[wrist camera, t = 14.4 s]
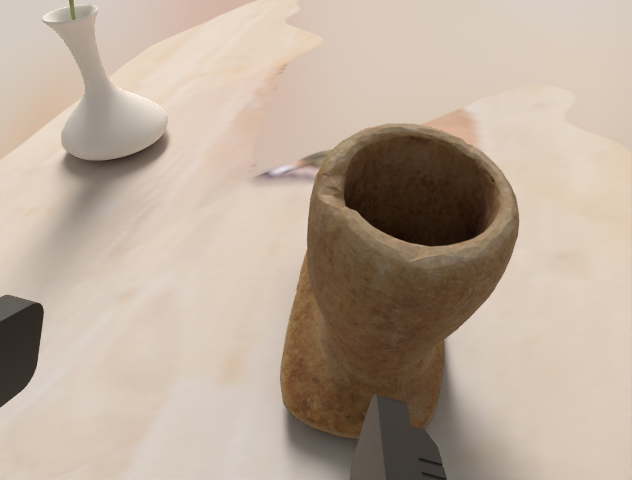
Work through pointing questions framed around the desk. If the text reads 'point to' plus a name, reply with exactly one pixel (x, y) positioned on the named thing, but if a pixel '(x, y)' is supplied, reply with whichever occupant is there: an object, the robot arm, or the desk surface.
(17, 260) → the desk surface
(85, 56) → the flower in vase
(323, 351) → the brown hollow flared cylinder
